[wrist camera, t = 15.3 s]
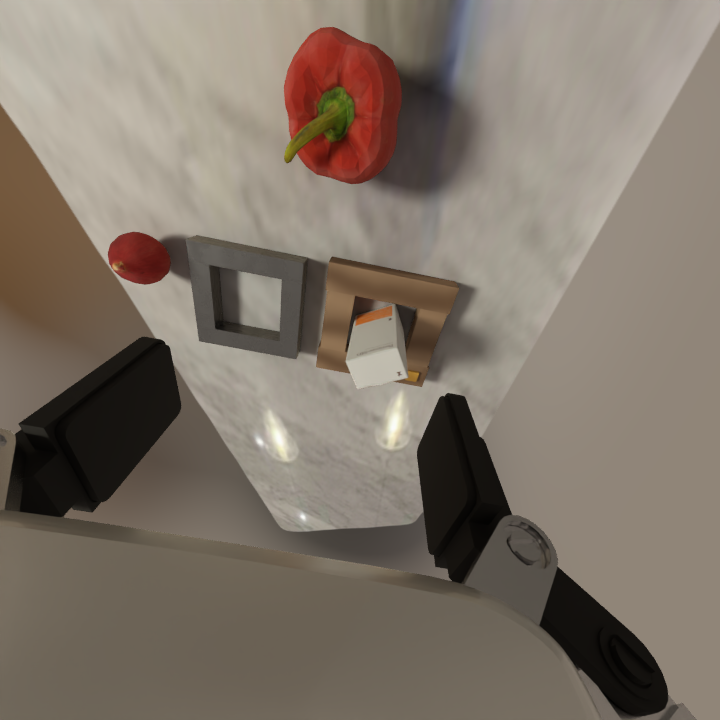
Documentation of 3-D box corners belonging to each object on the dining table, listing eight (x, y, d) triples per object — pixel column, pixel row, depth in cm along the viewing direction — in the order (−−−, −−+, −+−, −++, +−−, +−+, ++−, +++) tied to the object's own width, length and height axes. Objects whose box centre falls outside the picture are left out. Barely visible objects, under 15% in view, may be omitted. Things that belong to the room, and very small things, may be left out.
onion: (165, 282, 41) (122, 304, 34) (128, 244, 38) (74, 261, 32) (192, 258, 39) (152, 277, 32) (155, 217, 36) (103, 228, 30)
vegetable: (335, 205, 34) (319, 218, 26) (275, 108, 30) (233, 87, 22) (420, 140, 31) (434, 131, 22) (366, 19, 26) (358, -50, 18)
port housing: (332, 256, 37) (328, 262, 35) (455, 281, 38) (459, 289, 36) (319, 358, 46) (315, 368, 44) (420, 376, 47) (422, 388, 44)
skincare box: (395, 301, 40) (399, 346, 30) (403, 328, 42) (410, 379, 32) (353, 314, 42) (344, 361, 32) (363, 339, 44) (357, 391, 34)
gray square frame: (196, 235, 37) (185, 239, 35) (307, 257, 38) (303, 263, 36) (207, 332, 45) (199, 341, 43) (300, 350, 45) (296, 359, 43)
